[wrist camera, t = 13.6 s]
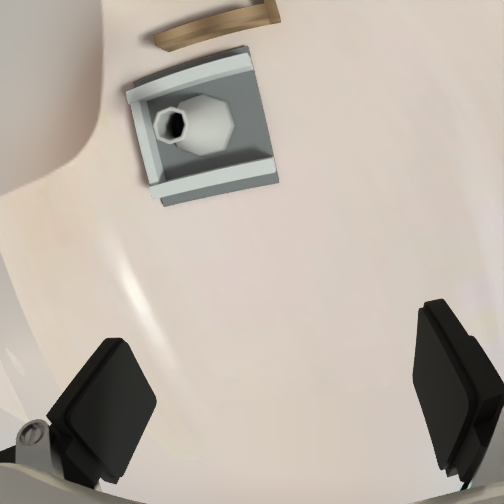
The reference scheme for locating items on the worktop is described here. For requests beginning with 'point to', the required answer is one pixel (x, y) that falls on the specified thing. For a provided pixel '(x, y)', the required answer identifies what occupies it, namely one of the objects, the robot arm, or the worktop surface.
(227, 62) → the dock
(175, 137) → the flask
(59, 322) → the worktop surface
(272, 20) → the wooden u-shaped bracket
